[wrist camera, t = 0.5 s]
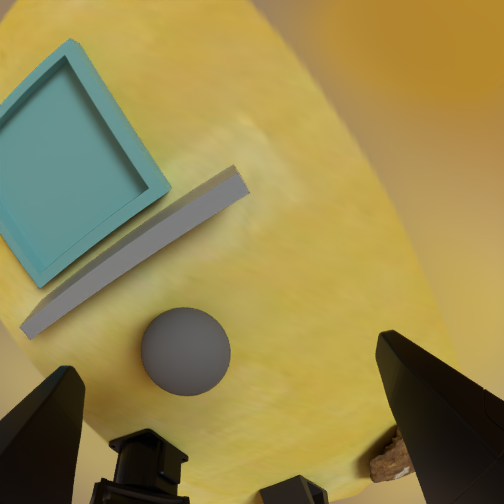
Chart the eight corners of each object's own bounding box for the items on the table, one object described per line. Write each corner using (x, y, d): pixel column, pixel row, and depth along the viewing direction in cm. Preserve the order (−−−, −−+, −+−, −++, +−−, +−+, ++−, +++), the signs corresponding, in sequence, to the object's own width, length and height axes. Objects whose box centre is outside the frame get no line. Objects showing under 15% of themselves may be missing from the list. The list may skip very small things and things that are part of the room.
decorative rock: (352, 435, 32) (370, 473, 38) (362, 462, 28) (377, 494, 34) (439, 393, 31) (437, 442, 37) (454, 418, 27) (447, 461, 33)
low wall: (51, 311, 22) (30, 340, 18) (41, 299, 21) (19, 327, 18) (243, 180, 20) (250, 192, 16) (233, 164, 20) (237, 172, 16)
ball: (180, 368, 25) (175, 424, 19) (132, 315, 23) (113, 368, 17) (243, 336, 24) (251, 391, 19) (197, 276, 22) (193, 326, 17)
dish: (48, 279, 21) (39, 288, 19) (-29, 155, 17) (-42, 158, 15) (171, 187, 20) (167, 191, 18) (79, 43, 15) (69, 37, 14)
